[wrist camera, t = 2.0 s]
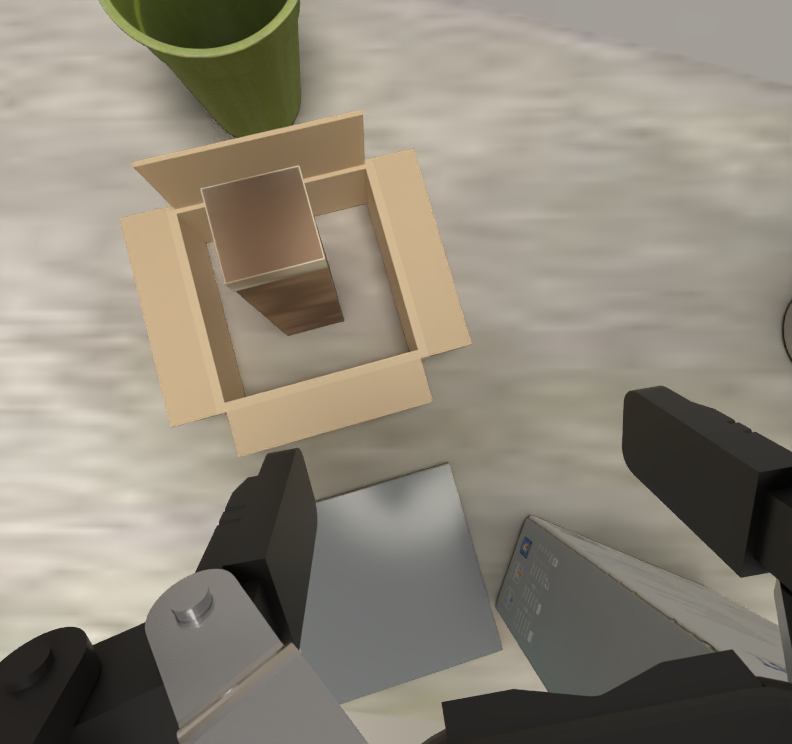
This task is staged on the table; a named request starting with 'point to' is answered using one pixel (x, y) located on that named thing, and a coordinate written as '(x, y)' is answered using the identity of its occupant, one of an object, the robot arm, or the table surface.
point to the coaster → (394, 587)
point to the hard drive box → (617, 615)
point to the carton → (201, 306)
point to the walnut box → (273, 249)
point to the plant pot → (224, 54)
